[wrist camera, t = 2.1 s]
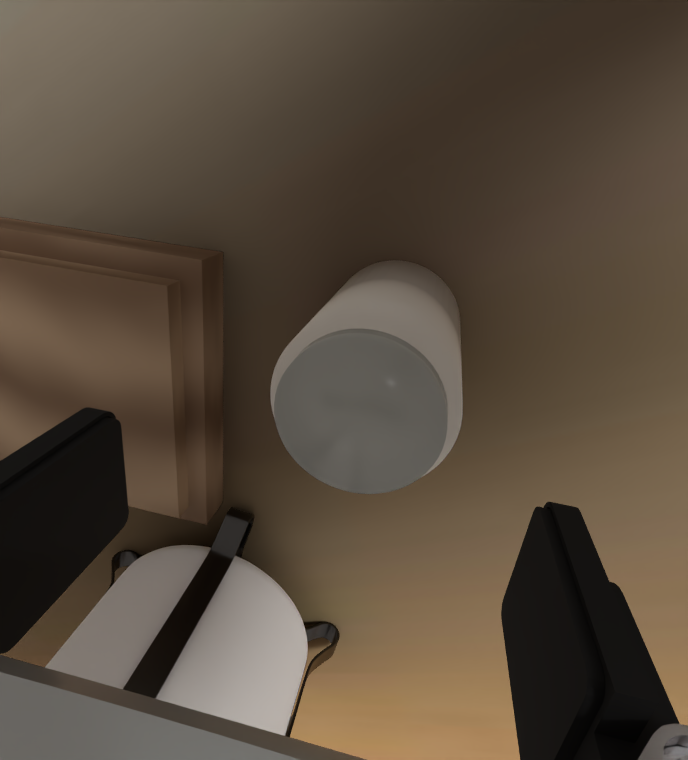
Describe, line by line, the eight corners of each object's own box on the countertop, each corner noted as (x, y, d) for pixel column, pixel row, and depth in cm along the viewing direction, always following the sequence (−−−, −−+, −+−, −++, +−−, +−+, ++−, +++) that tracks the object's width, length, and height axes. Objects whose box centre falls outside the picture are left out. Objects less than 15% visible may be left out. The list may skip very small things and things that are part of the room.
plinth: (-48, 209, 23) (-113, 215, 20) (223, 252, 21) (189, 264, 18) (8, 450, 29) (-37, 479, 26) (223, 501, 27) (197, 538, 24)
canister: (339, 251, 20) (264, 306, 12) (473, 271, 19) (485, 344, 11) (326, 371, 22) (257, 482, 15) (445, 393, 22) (440, 523, 14)
